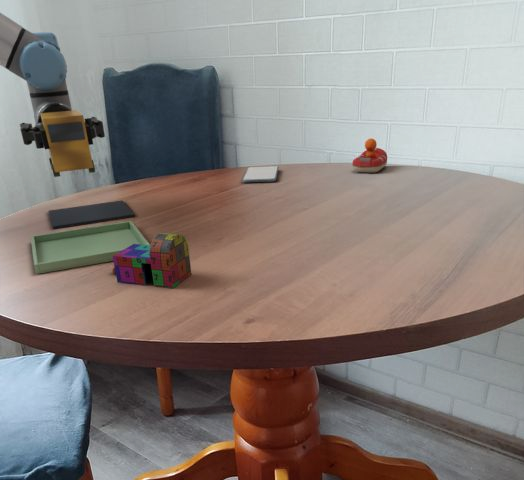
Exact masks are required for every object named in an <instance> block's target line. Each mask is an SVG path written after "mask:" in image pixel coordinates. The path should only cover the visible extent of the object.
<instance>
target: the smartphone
mask: <svg viewBox="0 0 524 480" xmlns="http://www.w3.org/2000/svg"><path fill="white" fill-rule="evenodd" d="M278 172H279V165H271V166H270V165H269V166H266V165H265V166H249V167H247V169H246V171H245V174H244V175H243V178H242V183H269V182H270V183H271V182H276V181H277V176H278Z"/></svg>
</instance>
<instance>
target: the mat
mask: <svg viewBox="0 0 524 480" xmlns="http://www.w3.org/2000/svg"><path fill="white" fill-rule="evenodd" d="M48 215H49V219H50V222H51V227H52V229H54V230H55V229H62V228H69V227H74V226H75V227H76V226H81V225H89V224H94V223H102V222H108V221H114V220H121V219H122V220H123V219H128V218H134V217H135V214H134V212H133V211H132V210H131V209H130V208H129V207H128V205H127V204H126V203H125V202H124V201H123V200H115V201H108V202H101V203H94V204H85V205H79V206H78V205H77V206H71V207H65V208H58V209H51V210H48Z"/></svg>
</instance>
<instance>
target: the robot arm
mask: <svg viewBox="0 0 524 480" xmlns="http://www.w3.org/2000/svg"><path fill="white" fill-rule="evenodd" d="M0 66H1V67H3V68H4V69H6V70H8V71H9V72H10V73H12V74H14V75H16V76H17V77H19V78H21V79H22V80H24V81H26V85H27V88H28V93H29V94H28V95H29V99H30V103H31V107H32V111H33V118H34V123H35V124H34V126H33V125H32V123H31V122H30V123H29V122H21V123H19V127H20V134H21V137H22V141H23V144H24V145H26V146H30V145H32V144H33V142H34V143H35V147H36V149H40V150H41V149H44V150H49V149H50V148H49V143H48V139H47V135H46V130H45V128H44V127H43V123H42V119H41V115H40V113H49V112H61V111H73V109H72V103H71V99H70V95H69V90H68V85H67V80H66V78H67V72H68V69H67V68H68V65H67V61H66V59H65V56H64V55H63V53H62V52H61V48H60V46H59V43H58V38H57V36H56V35H55V34H54V33H53V32H48V31H47V32H46V31H45V32H44V31H43V32H31V31H29V30H28V29H26V28H24V27H23V26H22V25H21V24H19V23H17V22H16V21H14V20H13V19H11V18H9V17H8V16H7V15H5V14H3V12H0ZM84 123H85V128H86V133H87V138H88V143H89V146H91V145H94V141H93V140H94V139H96V138H97V137H98V138H100V139H104V138H105V137H106V134H105V128H104V127H105V126H104V123H103V121H102V120H100V119H97V117H96V116H91V117H88V118H84Z"/></svg>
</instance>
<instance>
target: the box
mask: <svg viewBox="0 0 524 480" xmlns="http://www.w3.org/2000/svg"><path fill="white" fill-rule="evenodd" d="M30 243H31V250H32V261H33V267H34V270H35V274H36V275H39V274H45V273H51V272H56V271H62V270H67V269H68V270H69V269H73V268H79V267H86V266H90V265H97V264H103V263H109V262H113V255H115V254H117V253H118V252H120V251H122V250H124V249H126V248H127V247H129V246H131V245H133V244H142V245H151V243H149V242H148V239H146V238H145V236H144V235H143V234H142V232H141V231H140V230H139V229H138V227H137V226H136V225H135V224H134V222H133V221H132V220H129V221H128V220H127V221H119V222H114V223H107V224H101V225H95V226H93V225H92V226H88V227H87V226H86V227H80V228H74V229H66V230H61V231H55V232H47V233H42V234H35V235H30Z"/></svg>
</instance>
